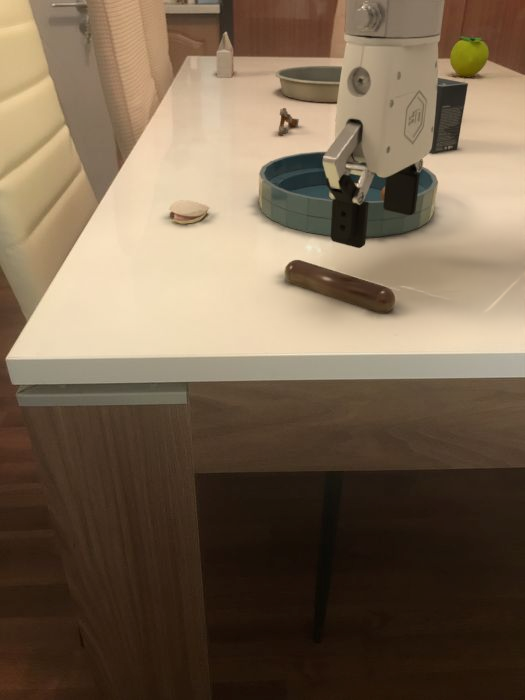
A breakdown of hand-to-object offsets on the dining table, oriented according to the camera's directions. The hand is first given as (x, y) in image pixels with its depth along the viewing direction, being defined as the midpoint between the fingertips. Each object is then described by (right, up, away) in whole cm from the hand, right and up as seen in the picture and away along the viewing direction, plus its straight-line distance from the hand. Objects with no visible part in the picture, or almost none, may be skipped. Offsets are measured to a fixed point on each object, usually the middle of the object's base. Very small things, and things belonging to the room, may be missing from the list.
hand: (374, 226), depth 59 cm
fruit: (+44, +62, +113) cm, 136 cm away
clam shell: (-19, +4, +16) cm, 25 cm away
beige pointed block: (-20, +61, +109) cm, 126 cm away
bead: (+5, +7, +21) cm, 23 cm away
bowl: (0, +6, +20) cm, 21 cm away
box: (+17, +22, +47) cm, 54 cm away
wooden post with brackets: (-6, +27, +55) cm, 62 cm away
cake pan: (+5, +47, +88) cm, 100 cm away
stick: (-3, -5, 0) cm, 6 cm away
